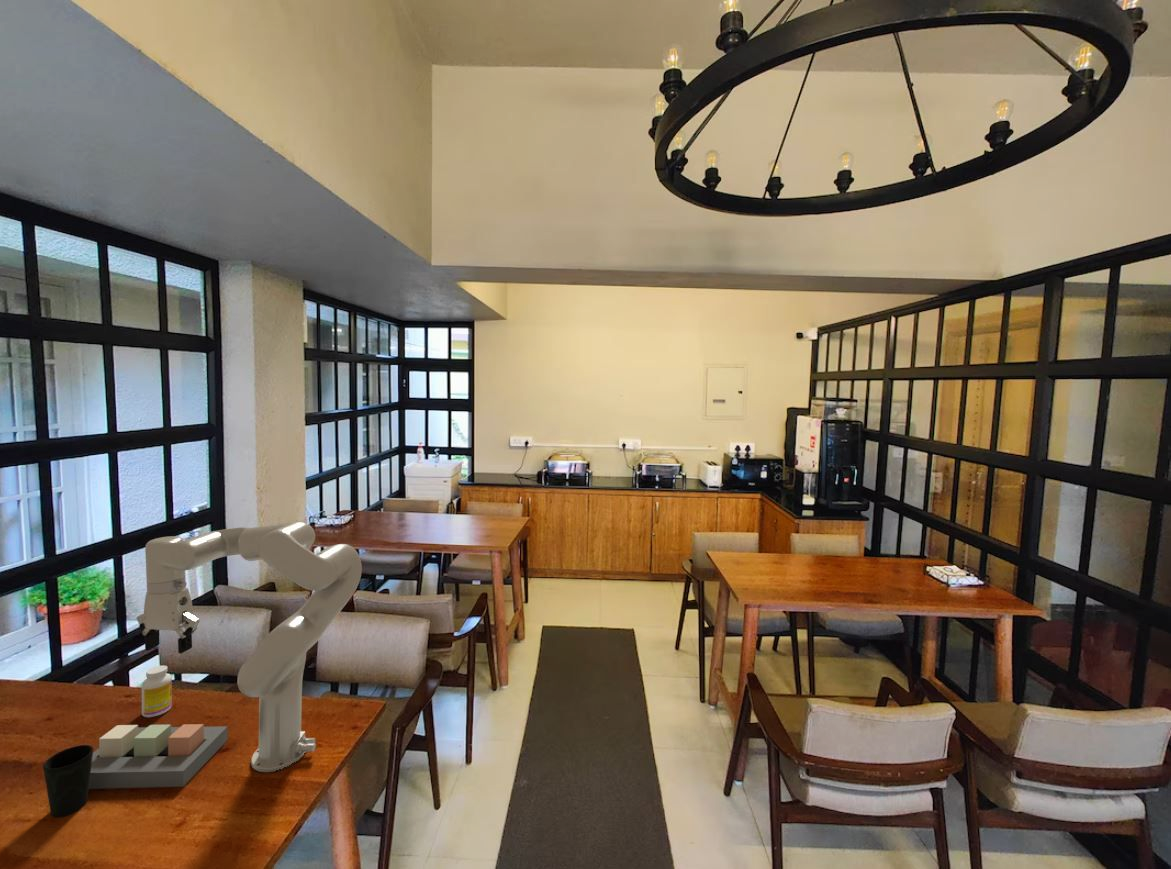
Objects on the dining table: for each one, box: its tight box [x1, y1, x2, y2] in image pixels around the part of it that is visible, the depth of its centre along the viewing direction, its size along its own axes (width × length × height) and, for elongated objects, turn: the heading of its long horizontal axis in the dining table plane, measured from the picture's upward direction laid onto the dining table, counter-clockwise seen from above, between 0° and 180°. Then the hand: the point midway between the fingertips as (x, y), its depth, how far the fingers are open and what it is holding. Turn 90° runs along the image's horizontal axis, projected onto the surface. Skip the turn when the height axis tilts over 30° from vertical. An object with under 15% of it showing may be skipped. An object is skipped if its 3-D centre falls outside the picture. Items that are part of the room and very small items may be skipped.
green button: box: [133, 724, 172, 757], centre depth 121 cm, size 5×5×5 cm
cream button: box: [98, 724, 139, 757], centre depth 120 cm, size 5×5×5 cm
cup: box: [42, 744, 94, 819], centre depth 107 cm, size 8×8×12 cm
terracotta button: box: [167, 723, 205, 756], centre depth 121 cm, size 5×5×5 cm
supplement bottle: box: [141, 665, 173, 718], centre depth 140 cm, size 7×7×13 cm
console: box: [88, 725, 229, 790], centre depth 121 cm, size 26×16×4 cm, turn 95°
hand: (168, 649), depth 123 cm, fingers open, 9 cm apart
